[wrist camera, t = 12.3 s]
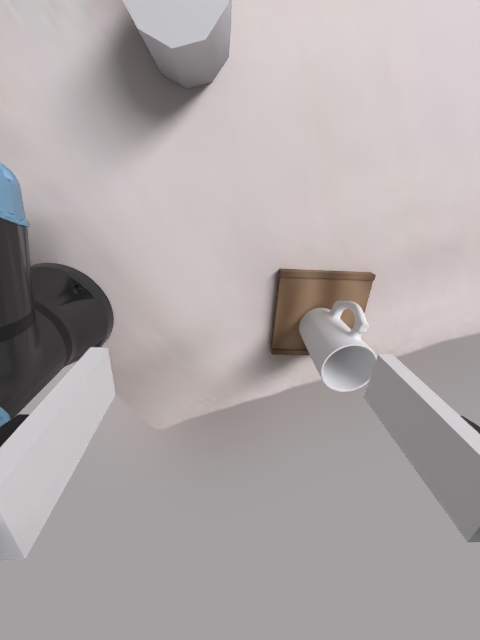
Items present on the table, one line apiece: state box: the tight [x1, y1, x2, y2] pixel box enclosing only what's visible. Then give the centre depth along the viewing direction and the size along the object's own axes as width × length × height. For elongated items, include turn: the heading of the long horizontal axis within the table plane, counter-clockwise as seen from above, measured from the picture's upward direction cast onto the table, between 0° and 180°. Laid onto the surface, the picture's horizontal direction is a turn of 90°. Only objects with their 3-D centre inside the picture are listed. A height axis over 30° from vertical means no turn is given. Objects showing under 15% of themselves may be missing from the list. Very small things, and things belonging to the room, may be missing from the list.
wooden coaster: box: [271, 269, 376, 355], centre depth 41 cm, size 14×14×2 cm
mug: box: [299, 301, 377, 392], centre depth 35 cm, size 10×7×12 cm, turn 163°
